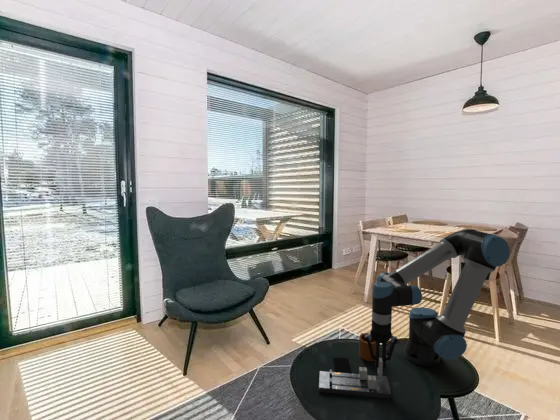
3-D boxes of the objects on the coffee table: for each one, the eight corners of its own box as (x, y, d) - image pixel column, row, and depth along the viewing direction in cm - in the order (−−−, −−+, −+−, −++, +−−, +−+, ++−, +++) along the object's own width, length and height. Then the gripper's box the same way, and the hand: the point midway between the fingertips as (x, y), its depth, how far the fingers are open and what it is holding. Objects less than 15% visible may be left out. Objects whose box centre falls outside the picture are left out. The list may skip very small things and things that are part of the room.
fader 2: (375, 385, 123) (375, 375, 122) (376, 389, 120) (376, 380, 120) (367, 384, 123) (367, 375, 123) (368, 388, 121) (368, 379, 120)
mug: (372, 345, 154) (372, 329, 152) (380, 361, 142) (381, 343, 140) (354, 346, 153) (355, 329, 152) (361, 361, 141) (362, 343, 140)
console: (386, 380, 128) (387, 372, 128) (391, 398, 119) (391, 389, 118) (319, 375, 133) (319, 366, 132) (319, 391, 123) (318, 382, 123)
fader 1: (366, 376, 128) (366, 367, 128) (367, 380, 126) (367, 371, 125) (359, 375, 129) (359, 366, 128) (359, 379, 126) (359, 370, 126)
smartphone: (336, 379, 130) (332, 357, 144) (336, 381, 130) (332, 358, 144) (353, 380, 129) (347, 357, 144) (353, 381, 129) (347, 358, 144)
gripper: (396, 317, 125) (394, 369, 128) (363, 315, 127) (362, 367, 130) (400, 326, 118) (398, 382, 121) (365, 324, 120) (364, 379, 123)
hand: (379, 374), depth 126 cm, fingers closed
